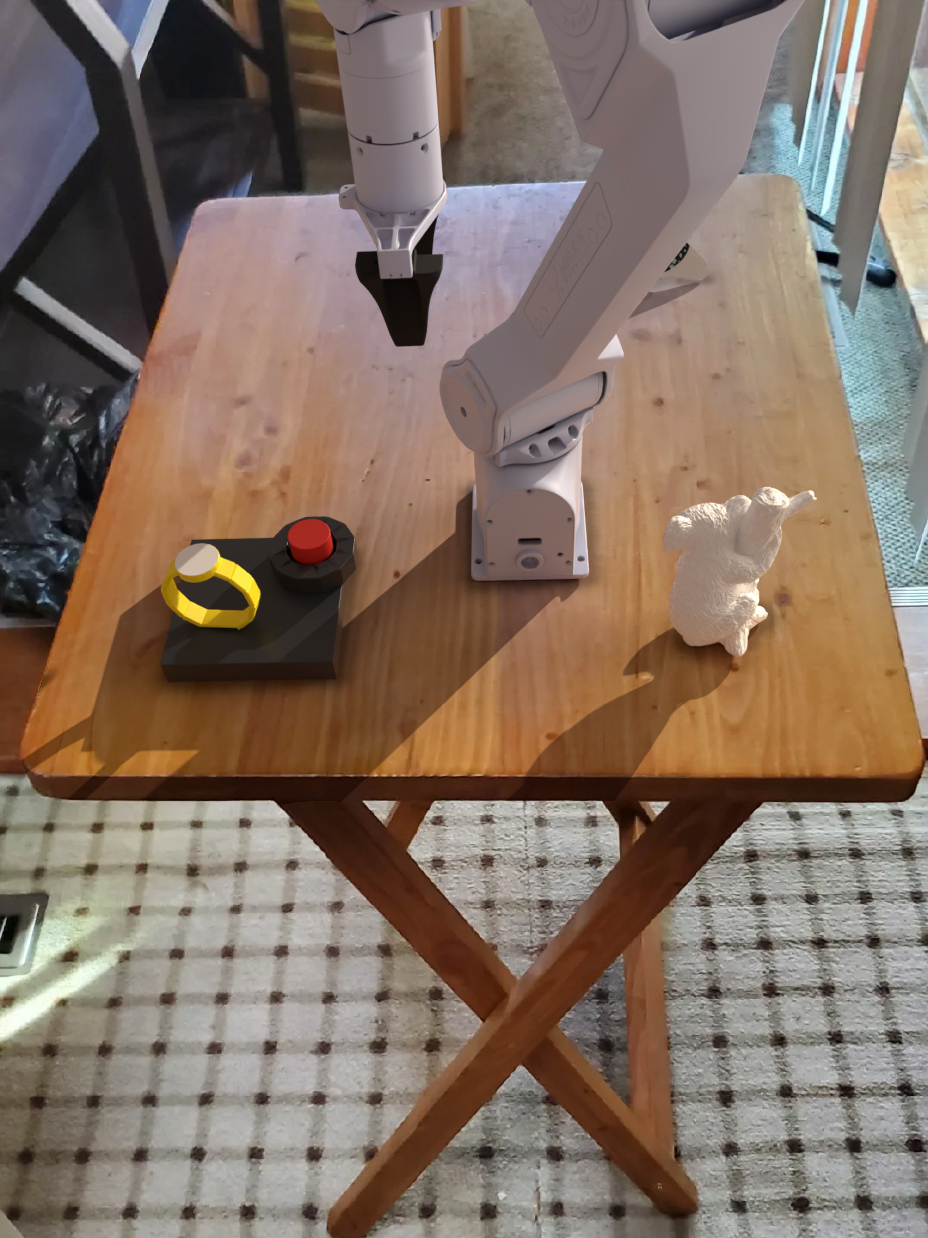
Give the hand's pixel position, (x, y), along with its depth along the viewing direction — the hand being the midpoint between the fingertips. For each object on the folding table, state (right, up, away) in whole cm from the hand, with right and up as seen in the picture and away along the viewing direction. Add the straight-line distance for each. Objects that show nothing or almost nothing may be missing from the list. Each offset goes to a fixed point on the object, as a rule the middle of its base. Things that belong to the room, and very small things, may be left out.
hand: (412, 311), depth 77 cm
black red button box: (-10, -22, -5) cm, 24 cm away
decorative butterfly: (+19, +10, +20) cm, 29 cm away
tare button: (-6, -17, -5) cm, 19 cm away
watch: (-12, -22, -7) cm, 26 cm away
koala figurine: (+20, -23, -7) cm, 31 cm away
